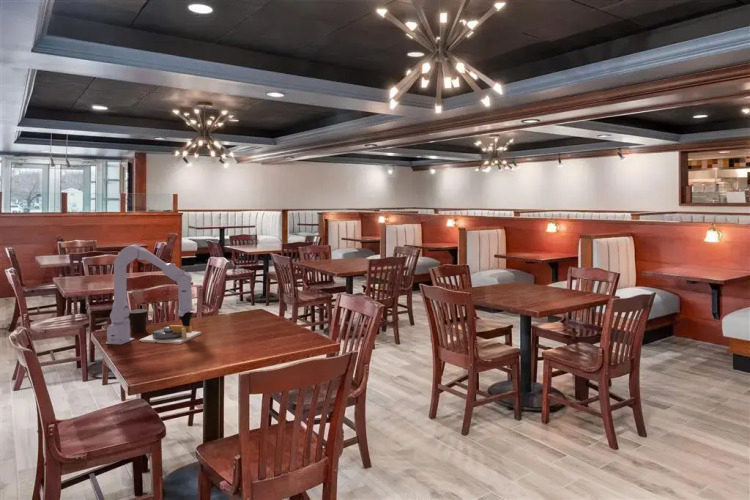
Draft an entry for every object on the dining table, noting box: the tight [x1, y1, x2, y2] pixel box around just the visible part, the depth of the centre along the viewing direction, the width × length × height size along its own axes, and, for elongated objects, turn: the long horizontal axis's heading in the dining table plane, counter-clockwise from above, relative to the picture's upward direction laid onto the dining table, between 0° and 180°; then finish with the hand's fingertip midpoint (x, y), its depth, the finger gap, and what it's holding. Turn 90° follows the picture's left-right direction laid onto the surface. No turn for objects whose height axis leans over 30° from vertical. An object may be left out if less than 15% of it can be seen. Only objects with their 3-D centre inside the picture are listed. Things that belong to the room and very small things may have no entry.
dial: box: [151, 324, 193, 339], centre depth 243 cm, size 18×14×4 cm
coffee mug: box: [128, 308, 148, 334], centre depth 258 cm, size 12×9×10 cm
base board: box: [139, 328, 202, 345], centre depth 245 cm, size 18×20×6 cm
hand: (186, 328), depth 244 cm, fingers closed
